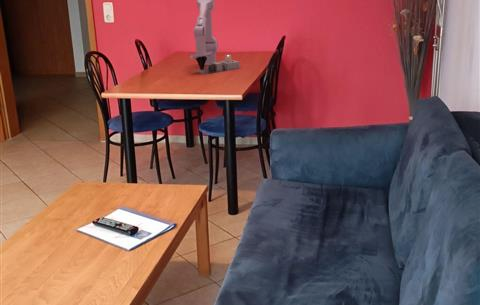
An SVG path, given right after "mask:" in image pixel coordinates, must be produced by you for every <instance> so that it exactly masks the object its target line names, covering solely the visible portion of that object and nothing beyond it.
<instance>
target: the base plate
mask: <svg viewBox="0 0 480 305" xmlns="http://www.w3.org/2000/svg"><path fill="white" fill-rule="evenodd" d="M240 69H241V70H242V67H239V68H237V69H231V70H225V69H223V70H221V71H212V72H211V71H209V69H208V67H206V68H205V67H204V70H200V68H199V69H194V70H193V69H192V72H195V73H199V74H203V75H211V74H217V73H223V72H229V71H235V70H240Z"/></svg>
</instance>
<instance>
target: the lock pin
mask: <svg viewBox="0 0 480 305" xmlns="http://www.w3.org/2000/svg"><path fill="white" fill-rule="evenodd" d="M207 66H208V67H207V68H208V69H209V71H211V72H212V71H216V67H215V65H207ZM222 68H223V69H224V66H222Z"/></svg>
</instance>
